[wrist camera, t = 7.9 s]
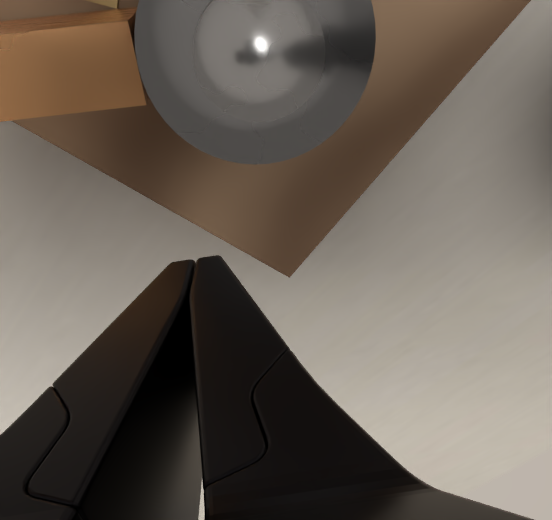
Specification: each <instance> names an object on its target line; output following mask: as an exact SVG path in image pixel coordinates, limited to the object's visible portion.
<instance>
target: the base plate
mask: <svg viewBox="0 0 552 520" xmlns="http://www.w3.org/2000/svg"><path fill="white" fill-rule="evenodd" d="M371 2H372V6H373V12H374V18H375V30H376V43H375V55H374V60H373V65H372V70H371V73H370V76H369V79H368V82H367V85H366V88H365V90H364V92H363V94H362V96H361V98H360V100H359V102H358V104H357V105H356V107H355V109H354V110H353V112H352V113H351V115H350V116H349V117H348V118H347V120H346V121H345V122H344V123H343V125H342V126H341V127H340V128H339V129H338V130H337V131H336V132H335V133H334V134H333V135H332V136H330V137H329V138H328V139H326V140H325V141H324V142H323V143H321V144H320V145H318V146H317V147H315V148H313V149H312V150H310V151H308V152H306V153H304V154H302V155H299V156H297V157H294V158H291V159H288V160H285V161H281V162H276V163H270V164H256V165H254V164H240V163H235V162H230V161H225V160H222V159H219V158H216V157H213V156H211V155H209V154H207V153H205V152H202V151H200V150H199V149H197V148H196V147H194V146H192V145H191V144H189V143H188V142H186V141H185V140H184V139H183V138H182V137H180V136H179V135H178V134H177V133H176V132H175V131H174V130H173V129H172V128H171V127H170V126H169V125H168V124H167V123H166V122H165V121H164V119H163V118H162V117H161V115H160V114H159V113H158V111H157V110H156V108H155V107H154V105H153V103H152V101H151V100H150V98H149V99H148V102H147V105H143V106H134V107H125V108H116V109H108V110H99V111H90V112H81V113H72V114H64V115H55V116H46V117H37V118H28V119H19V120H11V121H13V122H15V123H16V124H18V125H20V126H22V127H24V128H25V129H27V130H29V131H31V132H32V133H34V134H36V135H38V136H40V137H41V138H43V139H45V140H47V141H48V142H50V143H52V144H54V145H55V146H57V147H59V148H61V149H63V150H64V151H66V152H68V153H70V154H71V155H73V156H75V157H77V158H79V159H80V160H82V161H84V162H86V163H87V164H89V165H91V166H93V167H94V168H96V169H98V170H100V171H102V172H103V173H105V174H107V175H109V176H110V177H112V178H114V179H116V180H118V181H119V182H121V183H123V184H125V185H126V186H128V187H130V188H132V189H133V190H135V191H137V192H139V193H141V194H142V195H144V196H146V197H148V198H149V199H151V200H153V201H155V202H157V203H158V204H160V205H162V206H164V207H165V208H167V209H169V210H171V211H172V212H174V213H176V214H178V215H180V216H181V217H183V218H185V219H187V220H188V221H190V222H192V223H194V224H196V225H197V226H199V227H201V228H203V229H204V230H206V231H208V232H210V233H211V234H213V235H215V236H217V237H219V238H220V239H222V240H224V241H226V242H227V243H229V244H231V245H233V246H235V247H236V248H238V249H240V250H242V251H243V252H245V253H247V254H249V255H250V256H252V257H254V258H256V259H258V260H259V261H261V262H263V263H265V264H266V265H268V266H270V267H272V268H274V269H275V270H277V271H279V272H281V273H282V274H284V275H286V276H288V277H290V276H291V275H292V274H293V273H294V272H295V271H296V269H297V268H298V267H299V266H300V265H301V264H302V262H303V261H304V260H305V259H306V258H307V257H308V256H309V254H310V253H311V252H312V251H313V250H314V249H315V248H316V246H317V245H318V244H319V243H320V242H321V241H322V239H323V238H324V237H325V236H326V235H327V234H328V233H329V231H330V230H331V229H332V228H333V227H334V226H335V225H336V223H337V222H338V221H339V220H340V219H341V218H342V217H343V215H344V214H345V213H346V212H347V211H348V210H349V208H350V207H351V206H352V205H353V204H354V203H355V202H356V200H357V199H358V198H359V197H360V196H361V195H362V194H363V192H364V191H365V190H366V189H367V188H368V187H369V185H370V184H371V183H372V182H373V181H374V180H375V179H376V177H377V176H378V175H379V174H380V173H381V172H382V171H383V169H384V168H385V167H386V166H387V165H388V164H389V162H390V161H391V160H392V159H393V158H394V157H395V156H396V154H397V153H398V152H399V151H400V150H401V149H402V148H403V146H404V145H405V144H406V143H407V142H408V141H409V140H410V138H411V137H412V136H413V135H414V134H415V133H416V131H417V130H418V129H419V128H420V127H421V126H422V125H423V123H424V122H425V121H426V120H427V119H428V118H429V117H430V115H431V114H432V113H433V112H434V111H435V110H436V108H437V107H438V106H439V105H440V104H441V103H442V102H443V100H444V99H445V98H446V97H447V96H448V95H449V94H450V92H451V91H452V90H453V89H454V88H455V87H456V86H457V84H458V83H459V82H460V81H461V80H462V79H463V77H464V76H465V75H466V74H467V73H468V72H469V71H470V69H471V68H472V67H473V66H474V65H475V64H476V63H477V61H478V60H479V59H480V58H481V57H482V56H483V54H484V53H485V52H486V51H487V50H488V49H489V48H490V46H491V45H492V44H493V43H494V42H495V41H496V40H497V38H498V37H499V36H500V35H501V34H502V33H503V32H504V30H505V29H506V28H507V27H508V26H509V25H510V23H511V22H512V21H513V20H514V19H515V18H516V17H517V15H518V14H519V13H520V12H521V11H522V10H523V9H524V7H525V6H526V5H527V4H528V3H529V2H530V0H371ZM138 3H139V0H0V21H8V20H18V19H27V18H37V17H46V16H56V15H65V14H75V13H84V12H94V11H103V10H113V9H122V8H132V7H138Z"/></svg>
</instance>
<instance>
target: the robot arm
mask: <svg viewBox="0 0 552 520" xmlns="http://www.w3.org/2000/svg"><path fill="white" fill-rule="evenodd" d="M202 479H203V489H204V506H205V520H534V519H530V518H527V517H524V516H521V515H517V514H514V513H511V512H508V511H504V510H501V509H498V508H495V507H492V506H489V505H485V504H482V503H479V502H476V501H473V500H470V499H466V498H463V497H460V496H457V495H454V494H450V493H447V492H444V491H441V490H438V489H436V488H434V487H432V486H430V485H428V484H426V483H425V482H423V481H421V480H420V479H418V478H417V477H415V476H414V475H413V474H411V473H410V472H409V471H407V470H406V469H405V468H404V467H403V466H402V465H401V464H399V463H398V462H397V461H396V460H395V459H394V458H393V457H392V456H391V455H390V454H389V453H388V452H387V451H386V450H385V449H384V448H382V447H381V446H380V445H379V444H378V443H377V442H376V441H375V440H374V439H373V438H372V437H371V436H370V435H369V434H368V433H367V432H366V431H365V430H364V429H363V428H362V427H361V426H359V425H358V424H357V423H356V422H355V421H354V420H353V419H352V418H351V417H350V416H349V415H348V414H347V413H346V412H345V411H344V410H343V409H342V408H341V407H340V406H339V405H338V404H337V403H336V402H335V401H334V400H333V399H332V398H331V397H330V396H329V395H328V394H327V393H326V392H325V391H324V390H323V389H322V388H321V387H320V386H319V385H318V384H317V383H316V381H315V380H314V379H313V378H312V376H311V375H310V374H309V373H308V372H307V370H306V369H305V368H304V367H303V365H302V364H301V363H300V362H299V360H298V359H297V358H296V356H295V355H294V354H293V352H292V351H290V349H289V347H288V346H287V345H286V343H285V342H284V340H283V339H282V338H281V336H280V335H279V334H278V332H277V331H276V330H275V328H274V327H273V326H272V324H271V323H270V322H269V320H268V319H267V318H266V316H265V315H264V314H263V312H262V311H261V310H260V308H259V307H258V306H257V304H256V303H255V301H254V300H253V299H252V297H251V296H250V295H249V293H248V292H247V291H246V289H245V288H244V287H243V285H242V284H241V283H240V281H239V280H238V279H237V277H236V276H235V275H234V273H233V272H232V271H231V269H230V268H229V267H228V265H227V264H226V262H225V261H224V260H223V258H222V257H221V256H219V255H216V256H210V257H203V258H199V259H198V260H197V262H196V263H195V261H194V260H184V261H177V262H172V263H170V264H169V265H168V266H167V267H166V268H165V269H164V270H163V271H162V272H161V273H160V274H159V275H158V276H157V277H156V278H155V279H154V280H153V281H152V282H151V283H150V284H149V286H148V287H147V288H146V289H145V290H144V291H143V292H142V293H141V294H140V295H139V296H138V297H137V298H136V299H135V300H134V301H133V302H132V303H131V304H130V305H129V306H128V307H127V308H126V309H125V310H124V311H123V312H122V313H121V314H120V315H119V316H118V317H117V318H116V319H115V320H114V321H113V322H112V323H111V324H110V325H109V326H108V327H107V328H106V330H105V331H104V332H103V333H102V334H101V335H100V336H99V337H98V338H97V339H96V340H95V341H94V342H93V343H92V344H91V345H90V346H89V347H88V348H87V349H86V350H85V351H84V352H83V353H82V354H81V355H80V356H79V357H78V358H77V359H76V360H75V361H74V362H73V363H72V364H71V365H70V366H69V367H68V368H67V369H66V370H65V371H64V372H63V373H62V375H61V376H60V377H59V378H58V379H57V380H56V381H55V382H54V383H53V387H49V388H48V389H47V390H46V391H45V392H44V393H43V394H42V395H41V396H40V397H39V398H38V399H37V400H36V401H35V402H34V403H33V404H32V405H31V406H30V407H29V408H28V409H27V410H26V411H25V412H24V413H23V414H22V415H21V416H20V417H19V418H18V419H17V420H16V421H15V422H14V423H12V424H11V425H10V426H9V427H8V428H7V429H6V430H5V431H4V432H3V433H2V434H1V435H0V520H198V516H199V505H200V493H201V482H202Z"/></svg>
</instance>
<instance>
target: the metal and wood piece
mask: <svg viewBox="0 0 552 520" xmlns="http://www.w3.org/2000/svg"><path fill="white" fill-rule="evenodd" d="M375 43H376V30H375V18H374V12H373V6H372V2H371V0H139V3H138V7H132V8H122V9H113V10H103V11H94V12H84V13H75V14H65V15H56V16H46V17H37V18H27V19H18V20H8V21H0V122H2V121H11V120H19V119H28V118H37V117H46V116H55V115H64V114H72V113H81V112H90V111H99V110H108V109H116V108H125V107H134V106H143V105H147V102H148V99H149V98H150V100H151V101H152V103H153V105H154V107H155V108H156V110H157V111H158V113H159V114H160V115H161V117H162V118H163V119H164V121H165V122H166V123H167V124H168V125H169V126H170V127H171V128H172V129H173V130H174V131H175V132H176V133H177V134H178V135H179V136H180V137H182V138H183V139H184V140H185V141H186V142H188V143H189V144H191V145H192V146H194V147H196V148H197V149H199V150H200V151H202V152H205V153H207V154H209V155H211V156H213V157H216V158H219V159H222V160H225V161H230V162H235V163H240V164H254V165H256V164H270V163H276V162H281V161H285V160H288V159H291V158H294V157H297V156H299V155H302V154H304V153H306V152H308V151H310V150H312V149H313V148H315V147H317V146H318V145H320V144H321V143H323V142H324V141H325V140H326V139H328V138H329V137H330V136H332V135H333V134H334V133H335V132H336V131H337V130H338V129H339V128H340V127H341V126H342V125H343V123H344V122H345V121H346V120H347V118H348V117H349V116H350V115H351V113H352V112H353V110H354V109H355V107H356V105H357V104H358V102H359V100H360V98H361V96H362V94H363V92H364V90H365V88H366V85H367V82H368V79H369V76H370V73H371V70H372V65H373V60H374V55H375Z"/></svg>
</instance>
